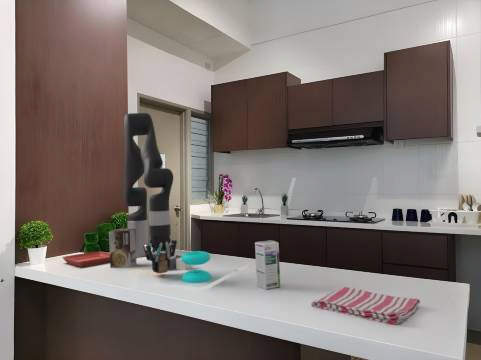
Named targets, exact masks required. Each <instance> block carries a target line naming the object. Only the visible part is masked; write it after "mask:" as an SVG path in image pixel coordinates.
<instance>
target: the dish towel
mask: <svg viewBox="0 0 481 360" xmlns="http://www.w3.org/2000/svg"><path fill="white" fill-rule="evenodd" d="M420 304H421V299H419V298H411V297H405V296H402V297H400V296H392V295H388V294H383V293H377V292H371V291H367V290H364V289H359V288H354V287H347V286H341V287H339V288H337V289H336V290H334V291H332V292H330V293H327V294H326V295H325V296H323V297H320V298H319V299H317V300H316V299H315V300H313V301H312V302H311V304H310V305H311V307H313V308H316V309H321V310H326V311H330V312H336V313H338V314H339V313H340V314H345V315H347V316H353V317H357V318H362V319H366V320H368V321H373V322H376V323H377V322H378V323H381V324H387V325H392V326H395V325H398V324H400V323H401V322H403V321H405V320H407V319H408V318H409V317H410V316H411V315H412V314H413V313H414V312H415V311H416V309H417V308H418V307H419V306H420Z"/></svg>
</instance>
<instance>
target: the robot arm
mask: <svg viewBox="0 0 481 360" xmlns="http://www.w3.org/2000/svg"><path fill="white" fill-rule="evenodd" d="M123 120H124V122H123V125H124V128H123V130H124V146H125V147H124V148H125V149H124V187H123V188H124V189H123V203H124V205H125V206H127V207H130V208H131V207H139V209H138V210H137V211H134V212H131V213H130V214H127V229H135V235H136V258H143V257H145V258H146V260H147V261H149V262H151V269H152V270H151V271H152V272H158V271H159V269H158V262H157V261H158V257H159V255H160V253H164V254H165V257H166V258H165V260H167V267H168V269H169V267H170V258H171V257H172V256H174V254H176V249H177V243H178V241H177V240H176V239H172V238H171V233H172V231H171V230H172V229H171V228H172V227H171V225H172V224H171V213H170V196H171V190H172V186H173V183H174V174H173V171H172V170H171V169H170V168H167V167H166V168H162V167H163V163H164V161H163V159H162V156H161V153H160V151H159V147H158V143H157V136H156V131H155V125H154V122H153V119H152V116H151V114H150V113H148V112H133V113H131V112H130V113H126V114H125V116H124V119H123ZM138 136H146V137H145V140H144V142H143V144H142V145H141V148H140V146H138V144H137V143H136V141H135V139H134V137H138ZM142 177H143V184H144V185H145V186H146V187H147V188H150V189H154V188H155V189H157V188H159V189H160V188H161V190H160V192H158V193H156V194H152V195H150V196H149V199H148V191H147V188H146V187H143V186H139V187H134V185H135V184H136V183H137V182H138V181H139V180H140V179H141V178H142ZM148 200H149V205H148ZM148 206H149V216H148ZM148 217H149V218H148ZM148 224H149V226H148ZM148 227H149V232H148ZM148 233H149V235H148ZM149 237H150V240H149ZM171 251H172V252H171Z"/></svg>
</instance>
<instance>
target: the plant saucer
mask: <svg viewBox="0 0 481 360" xmlns="http://www.w3.org/2000/svg"><path fill="white" fill-rule="evenodd" d="M61 258H62V259H63V260H64V262H66V263H67V264H68V265H71V266H75V267H78V268H84V267H85V268H86V267H91V266H97V265H103V264H107V263H110V252H105V251H94V252H93V251H92V252H86V253H79V254H72V255H66V256H62V257H61Z"/></svg>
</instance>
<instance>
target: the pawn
mask: <svg viewBox="0 0 481 360" xmlns="http://www.w3.org/2000/svg"><path fill="white" fill-rule="evenodd" d="M165 258H166V257H165V254H164V253H162V252H160V255H159V257H158V261H157V262H158V269H159V271H158V272H155V273H161V274H165V273H168V271H169V270H168V267H167V260H165Z"/></svg>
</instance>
